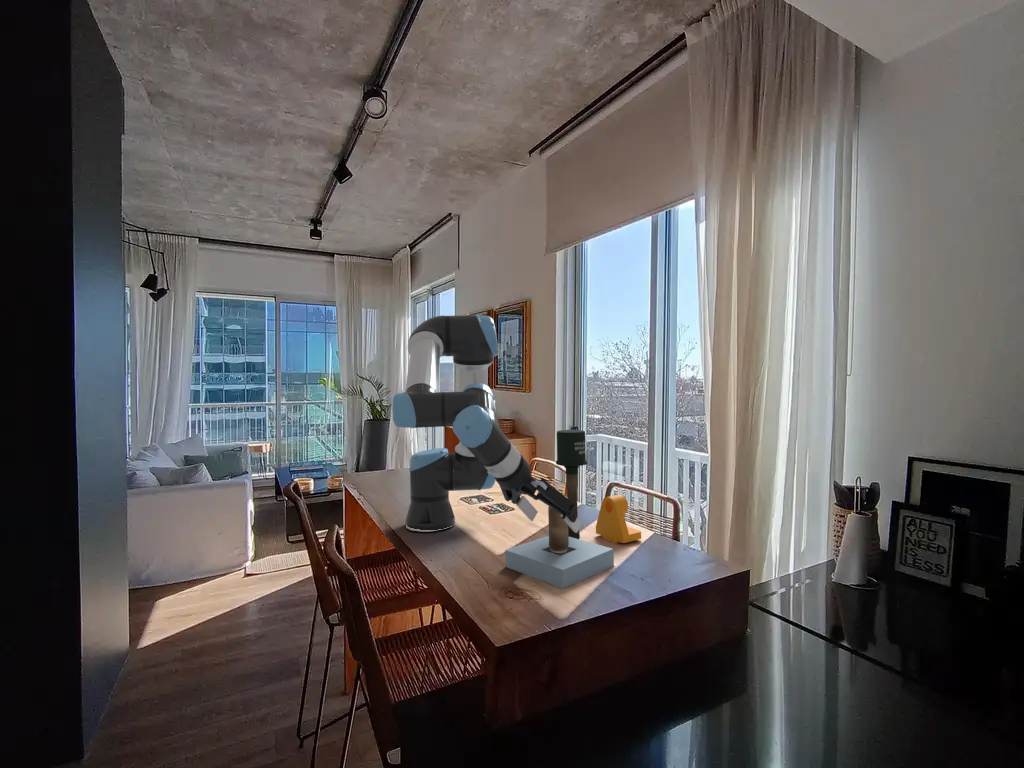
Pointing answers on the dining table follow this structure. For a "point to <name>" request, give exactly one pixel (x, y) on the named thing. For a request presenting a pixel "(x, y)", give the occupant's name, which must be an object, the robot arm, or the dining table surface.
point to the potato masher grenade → (571, 463)
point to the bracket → (615, 521)
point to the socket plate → (559, 561)
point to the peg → (557, 532)
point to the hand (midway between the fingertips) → (555, 521)
